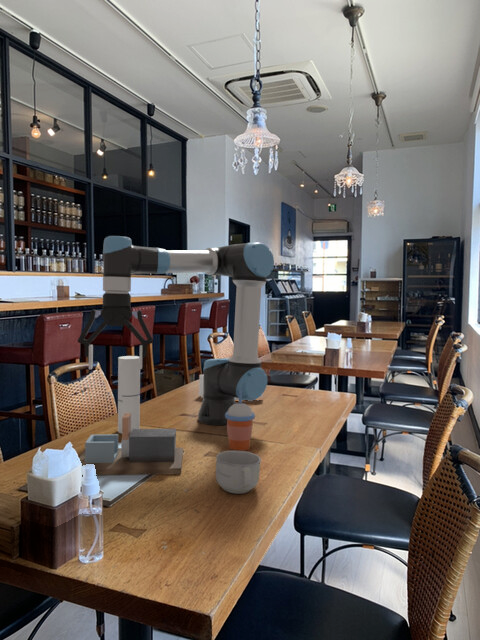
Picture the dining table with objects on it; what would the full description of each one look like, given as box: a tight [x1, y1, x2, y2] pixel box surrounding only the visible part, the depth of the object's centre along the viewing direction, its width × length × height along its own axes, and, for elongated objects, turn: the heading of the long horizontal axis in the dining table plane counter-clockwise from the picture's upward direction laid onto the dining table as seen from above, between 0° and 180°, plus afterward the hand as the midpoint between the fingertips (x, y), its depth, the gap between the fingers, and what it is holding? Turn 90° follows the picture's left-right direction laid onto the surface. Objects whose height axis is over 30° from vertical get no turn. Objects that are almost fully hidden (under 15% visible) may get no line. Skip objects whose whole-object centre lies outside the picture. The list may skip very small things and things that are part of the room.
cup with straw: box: [225, 389, 256, 451], centre depth 140 cm, size 9×9×18 cm
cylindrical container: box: [117, 355, 141, 434], centre depth 155 cm, size 7×7×25 cm
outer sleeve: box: [129, 428, 177, 463], centre depth 126 cm, size 12×7×7 cm, turn 95°
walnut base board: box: [78, 447, 184, 476], centre depth 126 cm, size 28×16×2 cm, turn 95°
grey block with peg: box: [120, 413, 131, 457], centre depth 126 cm, size 13×5×11 cm, turn 95°
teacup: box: [215, 450, 262, 495], centre depth 109 cm, size 14×11×8 cm
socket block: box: [84, 433, 119, 463], centre depth 125 cm, size 7×7×6 cm
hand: (115, 368), depth 129 cm, fingers open, 13 cm apart
